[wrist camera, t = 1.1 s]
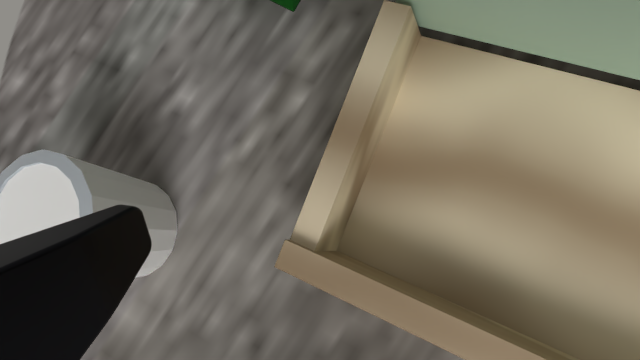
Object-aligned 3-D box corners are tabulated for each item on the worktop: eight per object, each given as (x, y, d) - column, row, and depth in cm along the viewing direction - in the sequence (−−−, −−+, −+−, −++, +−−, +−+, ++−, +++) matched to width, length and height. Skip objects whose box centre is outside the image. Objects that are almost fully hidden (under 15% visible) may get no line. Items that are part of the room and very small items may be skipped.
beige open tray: (832, 504, 17) (959, 600, 12) (316, 263, 25) (274, 266, 20) (958, 186, 17) (1132, 163, 12) (402, 42, 25) (381, -6, 20)
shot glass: (119, 153, 30) (14, 127, 23) (205, 198, 27) (114, 183, 21) (75, 256, 30) (-42, 258, 23) (156, 309, 28) (51, 329, 21)
